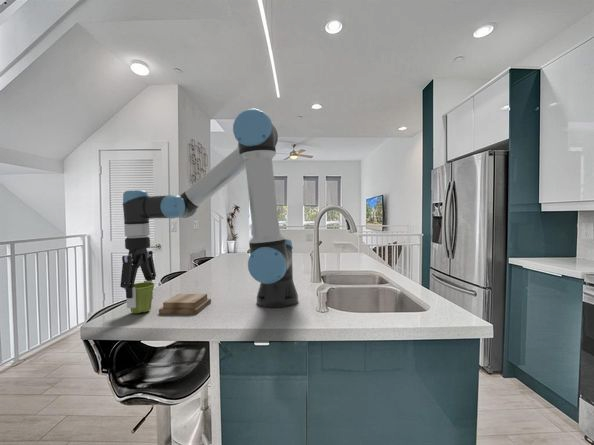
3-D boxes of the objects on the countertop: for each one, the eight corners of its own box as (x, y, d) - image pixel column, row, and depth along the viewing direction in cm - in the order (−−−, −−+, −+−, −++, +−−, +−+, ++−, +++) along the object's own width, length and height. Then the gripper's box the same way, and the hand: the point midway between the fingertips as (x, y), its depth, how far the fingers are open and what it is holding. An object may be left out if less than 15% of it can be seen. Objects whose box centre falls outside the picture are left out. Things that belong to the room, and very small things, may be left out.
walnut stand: (211, 302, 117) (210, 293, 116) (196, 314, 104) (196, 303, 104) (177, 302, 118) (176, 293, 118) (158, 313, 105) (158, 303, 105)
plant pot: (143, 315, 101) (142, 288, 101) (118, 314, 103) (117, 288, 103) (162, 307, 110) (160, 282, 110) (138, 306, 112) (137, 282, 112)
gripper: (145, 234, 117) (148, 294, 118) (104, 240, 95) (107, 313, 96) (164, 234, 117) (167, 294, 117) (127, 239, 95) (131, 313, 96)
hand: (140, 303), depth 107 cm, fingers closed on plant pot, 9 cm apart
